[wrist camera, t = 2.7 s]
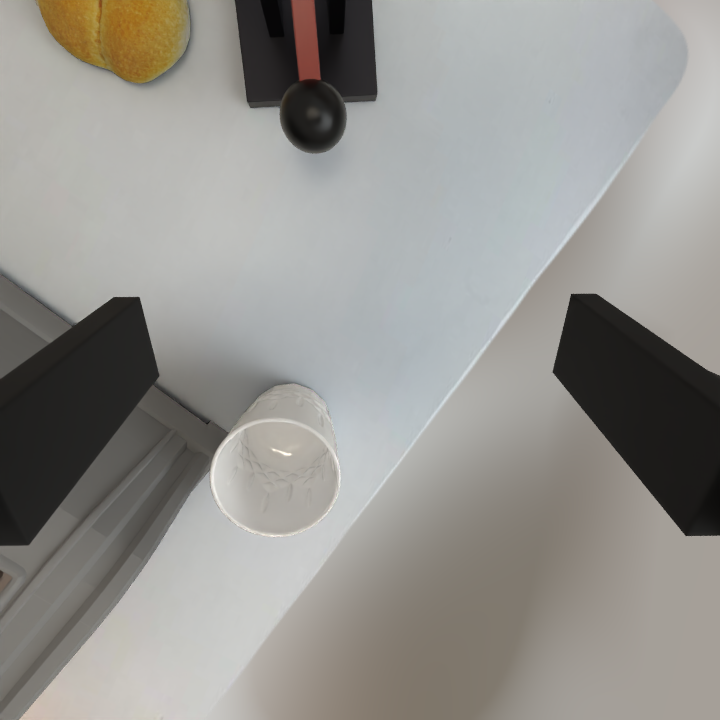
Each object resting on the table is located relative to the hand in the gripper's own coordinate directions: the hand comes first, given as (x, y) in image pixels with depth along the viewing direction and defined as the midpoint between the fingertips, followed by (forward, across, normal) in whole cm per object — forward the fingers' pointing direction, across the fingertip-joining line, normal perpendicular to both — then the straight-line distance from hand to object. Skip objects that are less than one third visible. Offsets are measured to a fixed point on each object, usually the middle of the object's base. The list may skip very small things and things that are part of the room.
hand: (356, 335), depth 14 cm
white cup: (+17, +5, +16) cm, 24 cm away
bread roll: (+25, +15, -12) cm, 32 cm away
